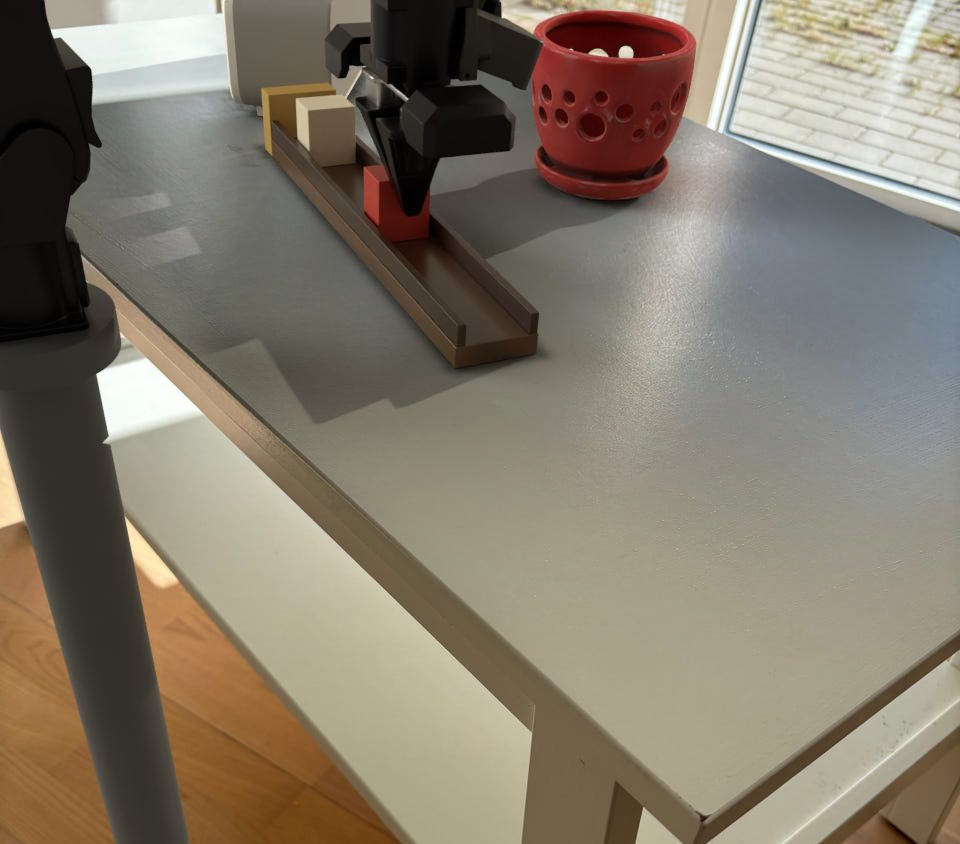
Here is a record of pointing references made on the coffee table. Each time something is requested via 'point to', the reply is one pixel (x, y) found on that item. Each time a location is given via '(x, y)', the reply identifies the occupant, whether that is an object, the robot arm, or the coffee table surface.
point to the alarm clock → (284, 44)
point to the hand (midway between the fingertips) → (411, 214)
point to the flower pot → (609, 101)
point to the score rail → (419, 264)
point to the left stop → (287, 106)
